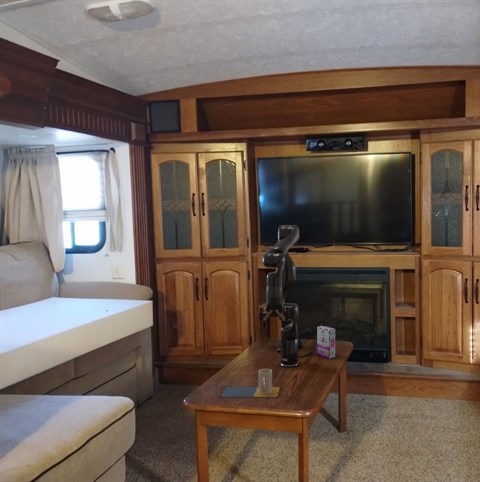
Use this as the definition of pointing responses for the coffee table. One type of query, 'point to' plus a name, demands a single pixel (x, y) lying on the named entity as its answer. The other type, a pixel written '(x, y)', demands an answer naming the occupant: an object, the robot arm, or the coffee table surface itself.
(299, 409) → the coffee table surface
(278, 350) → the miniature car
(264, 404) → the coffee table surface
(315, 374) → the coffee table surface
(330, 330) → the candy bar box
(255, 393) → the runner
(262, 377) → the mug
